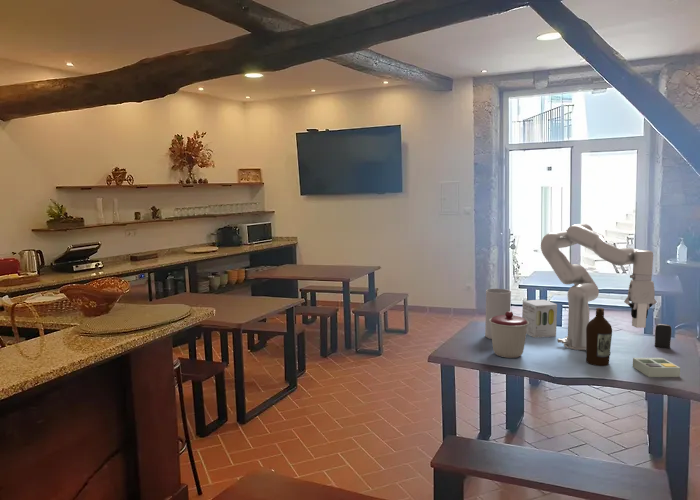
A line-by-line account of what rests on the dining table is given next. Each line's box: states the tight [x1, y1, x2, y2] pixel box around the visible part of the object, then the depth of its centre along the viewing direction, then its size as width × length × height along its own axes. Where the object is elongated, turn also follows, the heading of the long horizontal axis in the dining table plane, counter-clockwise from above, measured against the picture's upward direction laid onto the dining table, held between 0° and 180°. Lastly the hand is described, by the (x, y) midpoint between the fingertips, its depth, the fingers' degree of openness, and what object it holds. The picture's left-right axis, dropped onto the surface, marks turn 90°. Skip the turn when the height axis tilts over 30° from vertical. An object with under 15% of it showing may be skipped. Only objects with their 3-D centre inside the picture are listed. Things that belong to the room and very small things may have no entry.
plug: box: [631, 303, 647, 329], centre depth 242 cm, size 4×4×14 cm
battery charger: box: [654, 323, 673, 349], centre depth 266 cm, size 7×4×11 cm, turn 62°
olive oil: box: [585, 307, 613, 367], centre depth 241 cm, size 11×11×25 cm
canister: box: [489, 310, 529, 359], centre depth 253 cm, size 18×18×21 cm
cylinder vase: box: [484, 288, 512, 340], centre depth 283 cm, size 12×12×25 cm
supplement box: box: [521, 299, 558, 339], centre depth 289 cm, size 13×13×18 cm
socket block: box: [632, 357, 681, 378], centre depth 230 cm, size 13×13×4 cm
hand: (639, 317), depth 242 cm, fingers closed on plug, 4 cm apart
